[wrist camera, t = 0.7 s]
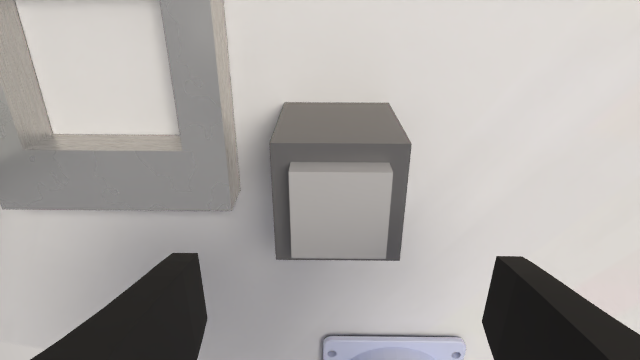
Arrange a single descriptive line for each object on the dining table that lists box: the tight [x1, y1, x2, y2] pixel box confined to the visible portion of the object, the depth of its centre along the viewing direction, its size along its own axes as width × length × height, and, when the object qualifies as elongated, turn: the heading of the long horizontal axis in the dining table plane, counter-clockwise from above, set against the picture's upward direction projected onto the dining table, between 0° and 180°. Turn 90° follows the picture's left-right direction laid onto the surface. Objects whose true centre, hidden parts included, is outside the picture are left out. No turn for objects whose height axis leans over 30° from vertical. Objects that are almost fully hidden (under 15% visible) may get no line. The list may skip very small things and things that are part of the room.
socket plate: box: [0, 0, 241, 211], centre depth 16 cm, size 12×10×2 cm
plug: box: [270, 102, 411, 261], centre depth 16 cm, size 4×4×6 cm
